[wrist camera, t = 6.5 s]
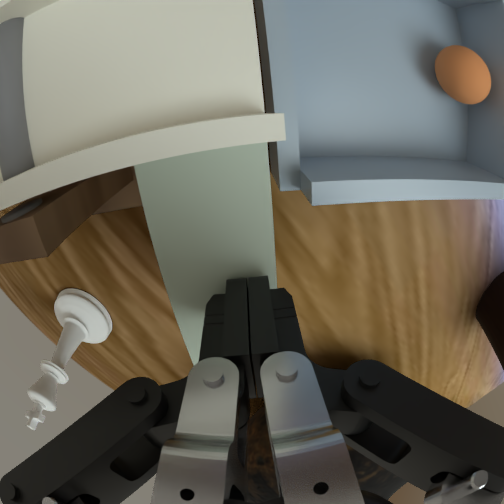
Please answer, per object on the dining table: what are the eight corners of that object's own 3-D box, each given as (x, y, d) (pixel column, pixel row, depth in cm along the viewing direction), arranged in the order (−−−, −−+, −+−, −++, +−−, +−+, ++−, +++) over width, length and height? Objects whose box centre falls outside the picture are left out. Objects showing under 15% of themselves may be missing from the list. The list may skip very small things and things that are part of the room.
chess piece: (124, 332, 18) (85, 454, 10) (82, 341, 19) (41, 443, 10) (86, 280, 16) (16, 404, 7) (46, 296, 16) (-15, 397, 8)
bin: (249, -36, 7) (254, -89, 3) (454, 4, 7) (507, -6, 3) (271, 172, 13) (287, 207, 9) (464, 171, 13) (518, 199, 9)
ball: (464, 35, 6) (498, 55, 6) (419, 40, 9) (456, 54, 9) (471, 102, 7) (502, 113, 8) (424, 96, 10) (460, 104, 10)
